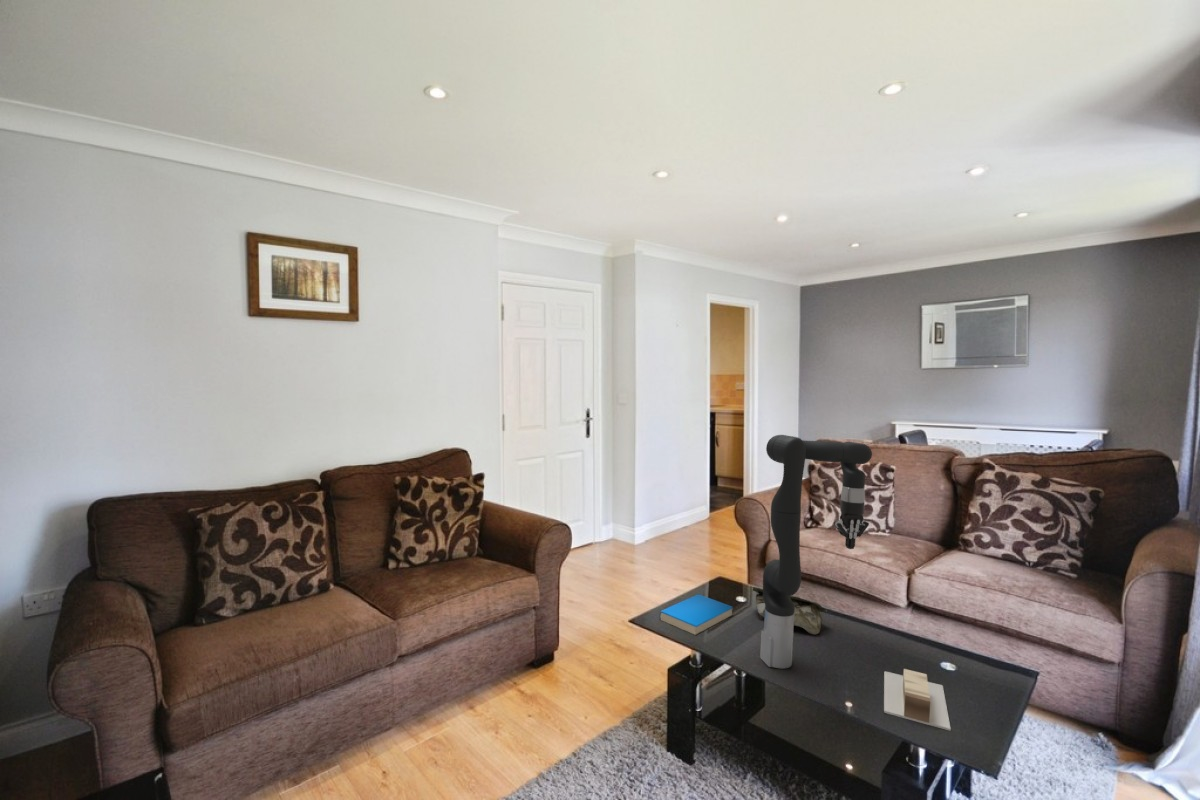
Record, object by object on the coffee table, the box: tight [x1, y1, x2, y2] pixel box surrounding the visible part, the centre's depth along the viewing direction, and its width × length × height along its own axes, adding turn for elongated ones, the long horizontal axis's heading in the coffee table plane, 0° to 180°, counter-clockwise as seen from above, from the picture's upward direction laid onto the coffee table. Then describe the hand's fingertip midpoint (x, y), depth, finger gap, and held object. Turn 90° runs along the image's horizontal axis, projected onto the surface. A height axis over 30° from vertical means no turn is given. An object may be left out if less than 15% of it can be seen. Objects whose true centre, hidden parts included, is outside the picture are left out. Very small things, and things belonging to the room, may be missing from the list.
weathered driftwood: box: [752, 586, 828, 635], centre depth 210 cm, size 28×13×15 cm
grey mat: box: [883, 671, 952, 732], centre depth 163 cm, size 24×16×1 cm, turn 153°
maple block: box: [902, 668, 930, 723], centre depth 159 cm, size 6×6×16 cm
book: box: [659, 594, 734, 636], centre depth 214 cm, size 17×4×25 cm
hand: (850, 548), depth 193 cm, fingers closed
